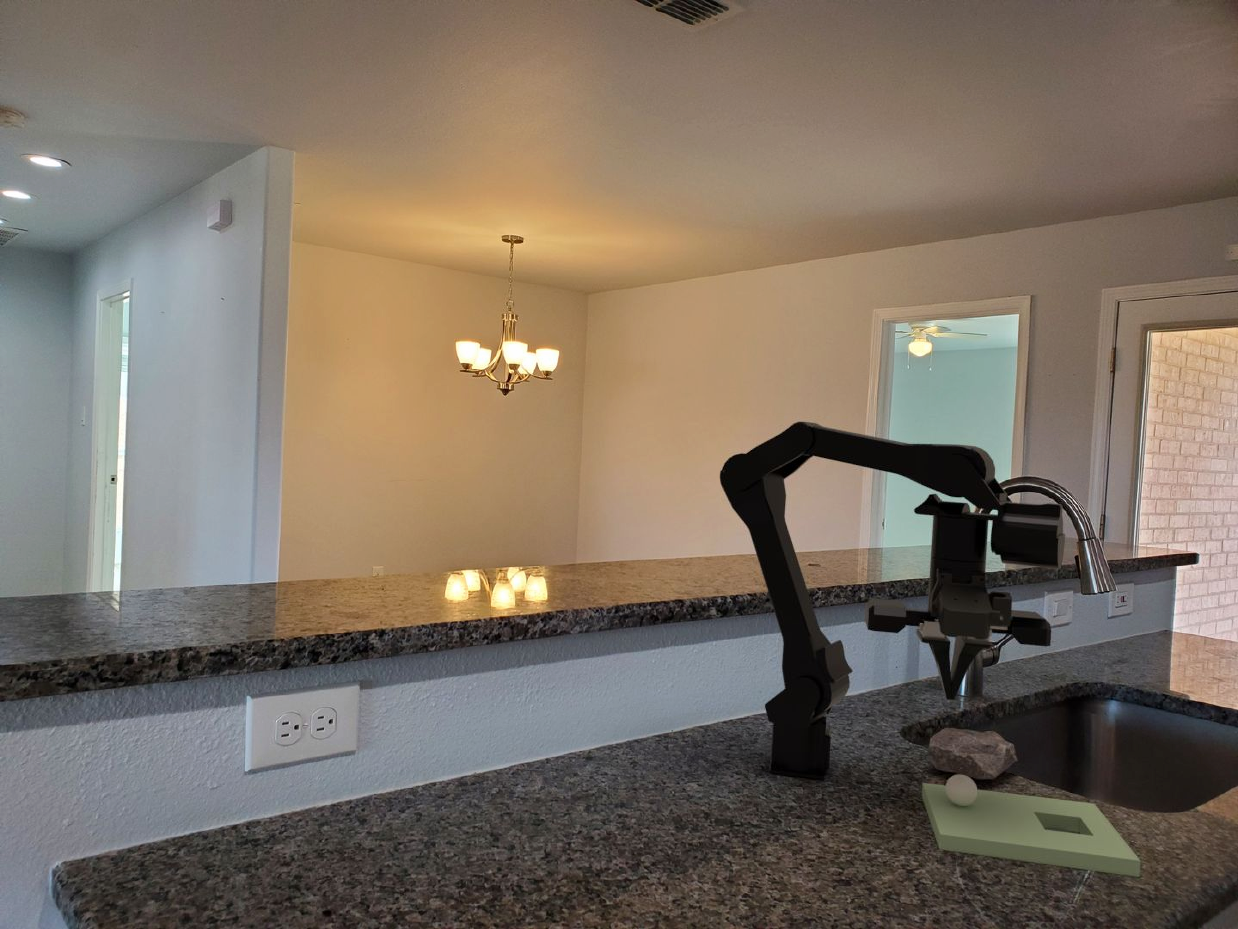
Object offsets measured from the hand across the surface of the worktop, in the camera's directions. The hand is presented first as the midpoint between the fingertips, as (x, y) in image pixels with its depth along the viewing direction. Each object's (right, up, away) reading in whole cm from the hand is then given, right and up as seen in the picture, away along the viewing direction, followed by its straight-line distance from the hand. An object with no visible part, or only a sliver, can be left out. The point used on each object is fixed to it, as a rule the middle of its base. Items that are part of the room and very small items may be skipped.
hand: (949, 699), depth 100 cm
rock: (+10, -14, +13) cm, 21 cm away
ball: (0, -9, -3) cm, 10 cm away
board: (+5, -12, -6) cm, 15 cm away
